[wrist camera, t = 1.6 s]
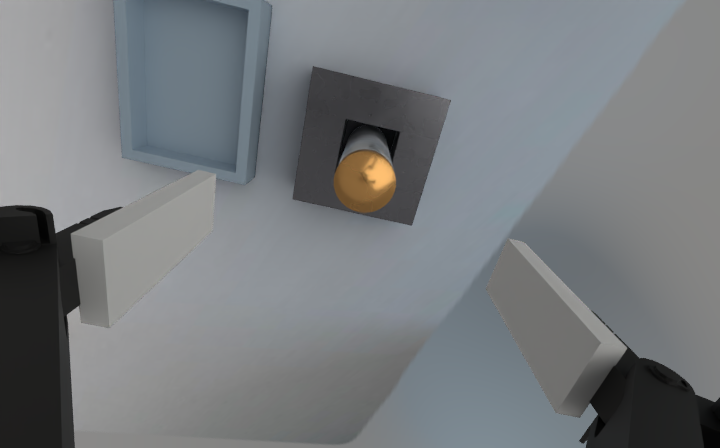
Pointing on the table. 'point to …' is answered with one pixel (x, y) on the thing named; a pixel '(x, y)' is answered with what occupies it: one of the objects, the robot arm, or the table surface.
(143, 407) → the table surface
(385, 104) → the block
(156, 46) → the tray
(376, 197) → the steel pin
